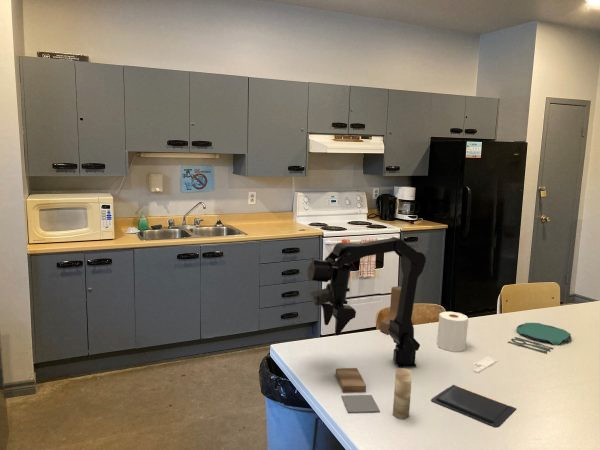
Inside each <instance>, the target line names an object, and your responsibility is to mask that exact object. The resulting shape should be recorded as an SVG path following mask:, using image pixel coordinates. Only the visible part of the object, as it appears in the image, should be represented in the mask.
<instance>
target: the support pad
mask: <svg viewBox="0 0 600 450" xmlns="http://www.w3.org/2000/svg"><path fill="white" fill-rule="evenodd" d="M341 399H342V402H343V404H344V407H345V409H346V411H347V414H365V413H367V414H368V413H380V412H381V410H380V407H379V406H378V404H377V403H376V401H375V399H374V397H373V395H372V394H357V395H356V394H355V395H341Z"/></svg>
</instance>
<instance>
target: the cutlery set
mask: <svg viewBox="0 0 600 450" xmlns="http://www.w3.org/2000/svg"><path fill="white" fill-rule="evenodd" d="M515 331H516V332H517V333H518V334H519V335H520V336H522V335H523V336H525V337H527V338H529V339H532V340H534V341H531V340H528V339H525V338H521V337H517V336H514V338H510V340H511V341H507V343H508V344H511V345H514V346H516V347H521V348H522V347H524V348H526V349H529V350H532V351H535V352H537V353H538V352H539V353H543V354H547V353H548V351H549V352H550V351H551V350H553V351H554V347H551V346H548V345H546V344H545V345H544V344H541V343H540V342H546V343H547V342H548V343H551V344H552V345H553V346H558V345H560V344H561V343H565V342H568V341H570V340H571V338H572V336H571V335H572V334H571V333H570V332H569V331H568V330H565V329H563V328H559V327H556V326H552V325H548V324H543V323H540V322H524V323H522V324H519V325H518V326H516V329H515ZM536 341H540V342H536ZM530 346H531V347H530ZM536 347H537V348H536ZM538 348H539V349H538Z"/></svg>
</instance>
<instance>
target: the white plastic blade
mask: <svg viewBox="0 0 600 450" xmlns="http://www.w3.org/2000/svg"><path fill="white" fill-rule="evenodd" d="M498 362H499V359H496V358H494V357H491V356H487V357H486V356H485V357H484V358H482V359H480V360H478V361H476V362H475V363H472V364H473V365H474V366H476V367H478V368H475V369H473V370H472V372H473V373H474V374H480V373H481V372H483V371H484V370H487V369H488V368H490V367H491V366H493V365H494V364H496V363H498Z"/></svg>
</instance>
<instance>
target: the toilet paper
mask: <svg viewBox="0 0 600 450" xmlns="http://www.w3.org/2000/svg"><path fill="white" fill-rule="evenodd" d="M437 325H438V326H437V327H438V328H437V338H436V340H437V341H436V345H437V347H438V348H440V349H442V350H444V351H448V352H454V353H457V352H464V351H465V350H466V349H467V337H468V326H469V317H468V316H467V315H465V314H463V313H461V312H454V311H442V312H440V313H439V314H438V324H437Z"/></svg>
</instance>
